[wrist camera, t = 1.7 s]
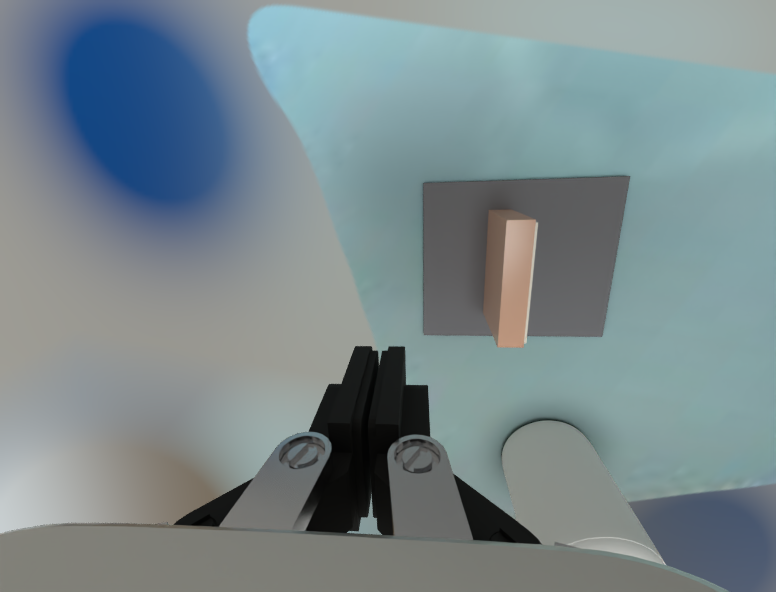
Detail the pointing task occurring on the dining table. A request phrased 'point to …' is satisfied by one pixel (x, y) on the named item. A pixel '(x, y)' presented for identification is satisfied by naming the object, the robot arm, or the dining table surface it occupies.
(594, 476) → the pill bottle
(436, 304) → the mat
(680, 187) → the dining table surface
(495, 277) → the tile
